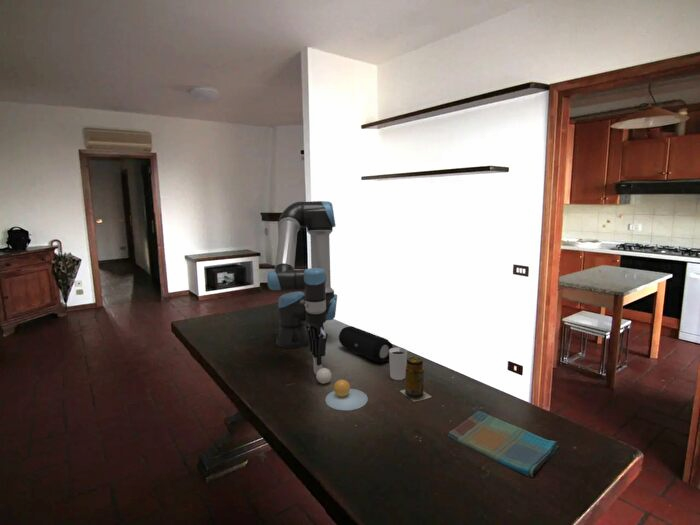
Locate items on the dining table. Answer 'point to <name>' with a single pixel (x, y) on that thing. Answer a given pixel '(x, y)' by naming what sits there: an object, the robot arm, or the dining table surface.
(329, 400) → the blue mark
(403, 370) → the white cup
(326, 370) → the ivory ball
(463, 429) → the dish towel
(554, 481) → the dining table surface
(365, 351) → the portable speaker
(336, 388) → the orange ball
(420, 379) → the condiment
